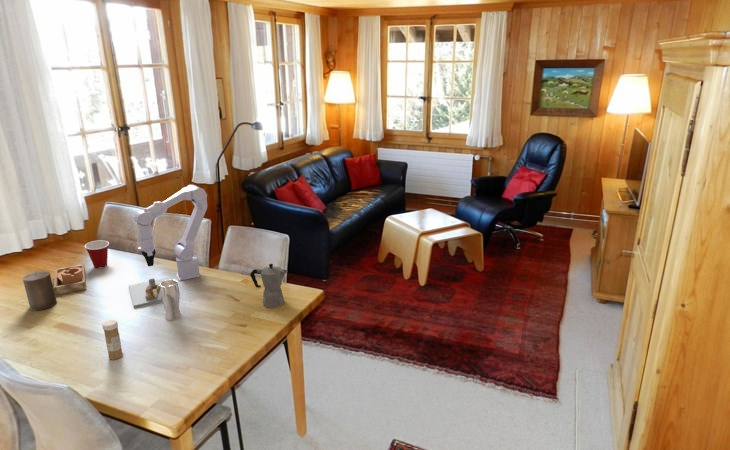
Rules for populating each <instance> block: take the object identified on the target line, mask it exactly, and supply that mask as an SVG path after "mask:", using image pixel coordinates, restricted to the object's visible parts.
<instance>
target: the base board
mask: <svg viewBox="0 0 730 450" xmlns="http://www.w3.org/2000/svg"><path fill="white" fill-rule="evenodd" d="M166 280H173V279H172V277H171V276H169V277H165V278H164V277H163V278H159V279H155V278H149V279H148V281H144V282H140V283H134V284H130V285H128V289H129V293H130V297H131V301H132V304H133V308H134V309H137V308H142V307H146V306H149V305H154V304H160V303H163V302H162V299H161V294H160V289H159V292H157V289H155V288H156V284H160V283H161V282H163V281H166ZM148 285H151V286H152V289H154V290H153V296H154V298H151V299H146V297H145V296H146V294H147V293H146V291H145V290H146V288H147V286H148Z"/></svg>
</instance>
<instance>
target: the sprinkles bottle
mask: <svg viewBox="0 0 730 450" xmlns="http://www.w3.org/2000/svg"><path fill="white" fill-rule="evenodd" d="M101 325H102V330H103V333H104V337H105V345H106V349H107V353H108V359H110V360H114V361H115V360H118V359H120V358H121V357H123V355H124V353H123V351H122V350H123V349H122V342H121V338H120V332H119V326H118V325H119V324H118V320H116V319H108V320H105V321H103V322H102V324H101Z"/></svg>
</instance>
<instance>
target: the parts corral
mask: <svg viewBox="0 0 730 450" xmlns="http://www.w3.org/2000/svg"><path fill="white" fill-rule="evenodd" d="M75 267H78V268H82V272H83V278H82V282H77V283H71V284H66V285H61V284H60V283H59V282H58V278H57V275H58V273H59V272H62V271H63V270H69V268H75ZM86 276H87V275H86V268H85V264H77V265H70V266H67V267H60V268H55V270H54V278H53V288H54V292H55V296H57V295H62V294H67V293H72V292H76V291H77V292H78V291H82V290H86V289H87V281H86V280H87V279H86Z"/></svg>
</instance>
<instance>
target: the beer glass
mask: <svg viewBox="0 0 730 450" xmlns="http://www.w3.org/2000/svg"><path fill="white" fill-rule="evenodd" d="M180 293H181V292H180V287H179V283H178V280H177V279H172V280H166V281H163V282H161V283H160V294H161V299H162V302H161V303H162V305H163V307H164V311H165V316H164V317H165V320H166V321H167V322H168V321H169V322H170V321H173V322H174V321H177V320H179V319H180V318H182V312H181V308H180V299H181V298H180V296H181V295H180Z"/></svg>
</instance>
